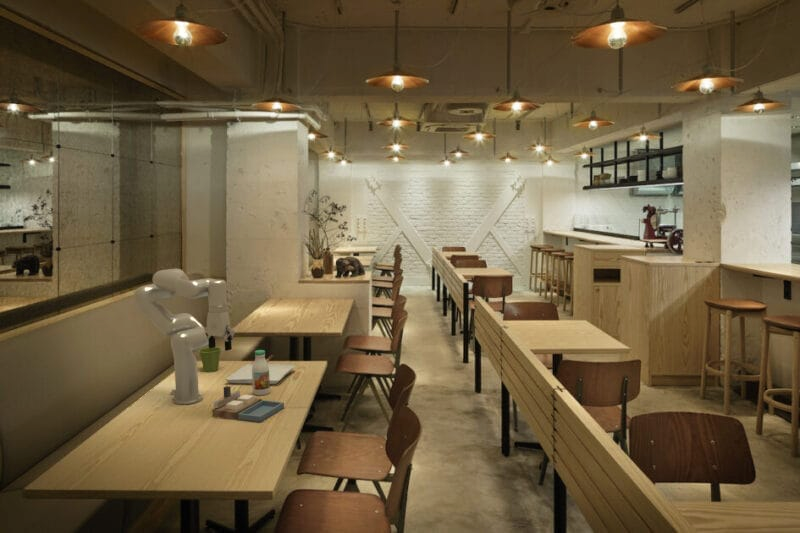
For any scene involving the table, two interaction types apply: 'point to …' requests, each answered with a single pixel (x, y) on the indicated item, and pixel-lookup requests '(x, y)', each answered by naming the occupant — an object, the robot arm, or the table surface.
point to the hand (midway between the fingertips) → (220, 348)
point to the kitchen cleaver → (269, 358)
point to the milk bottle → (260, 374)
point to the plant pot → (210, 358)
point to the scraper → (226, 397)
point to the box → (261, 411)
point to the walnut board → (232, 414)
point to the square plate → (246, 373)
